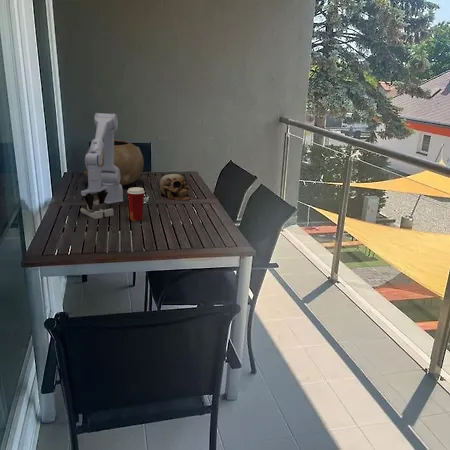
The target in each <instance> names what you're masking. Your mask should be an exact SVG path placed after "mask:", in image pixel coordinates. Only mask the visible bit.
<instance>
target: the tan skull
mask: <svg viewBox="0 0 450 450" xmlns="http://www.w3.org/2000/svg"><path fill="white" fill-rule="evenodd" d="M190 189H191V188H190V186H189V185H188V181H187V180H186V179H185V178H184V177H183V176H182V175H181V174H178V173H170V174H169V173H168V174H165V175H164V176H162V177H161V179H160V181H159V191H160V192H161V193H162V195H164V196H165V197H167V198H168V199H169V200H173V201H182V202H183V201H185V202H186V201H190V200H191V196H190V195H189V190H190Z"/></svg>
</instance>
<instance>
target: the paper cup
mask: <svg viewBox="0 0 450 450" xmlns="http://www.w3.org/2000/svg"><path fill="white" fill-rule="evenodd" d="M126 192H127V196H128V209H129V219H130V221H133V222H140V221H143V219H144V203H145V192H146V191H145V190H144V188H143V187H129V188H128V189H127V191H126Z"/></svg>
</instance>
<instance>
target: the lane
mask: <svg viewBox="0 0 450 450" xmlns="http://www.w3.org/2000/svg"><path fill="white" fill-rule="evenodd" d="M104 211H106V212H108V214H105V213H104V214H103V211H96V212H93V213H91V212H89V211H87V209H85V208H80V213H81V214H84V215H86V216H87V217H90V218H92V219H94V220H96V219H102V218H104V217H105V218H107V217H113V216H114V208H108V209H107V208H106V210H104Z"/></svg>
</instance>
